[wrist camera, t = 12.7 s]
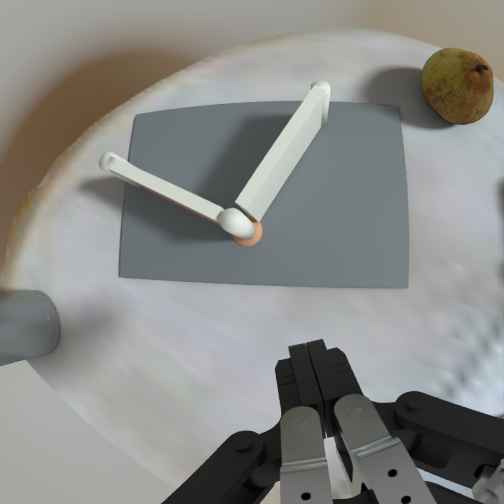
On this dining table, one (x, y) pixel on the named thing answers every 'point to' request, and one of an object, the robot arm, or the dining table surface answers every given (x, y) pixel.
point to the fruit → (458, 85)
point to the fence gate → (286, 152)
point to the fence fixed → (179, 196)
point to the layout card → (282, 207)
